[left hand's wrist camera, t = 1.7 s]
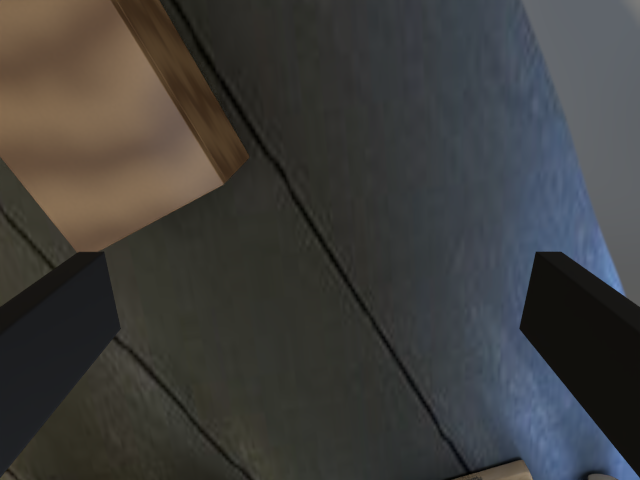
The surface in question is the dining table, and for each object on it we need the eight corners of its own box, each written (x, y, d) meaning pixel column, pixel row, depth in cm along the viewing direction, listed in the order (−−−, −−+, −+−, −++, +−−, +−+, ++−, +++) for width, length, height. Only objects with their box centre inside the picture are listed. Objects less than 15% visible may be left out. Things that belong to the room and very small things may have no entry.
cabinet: (-48, -55, 27) (-224, -121, 18) (74, -147, 25) (-55, -269, 16) (143, 214, 34) (82, 259, 25) (249, 157, 32) (224, 184, 23)
